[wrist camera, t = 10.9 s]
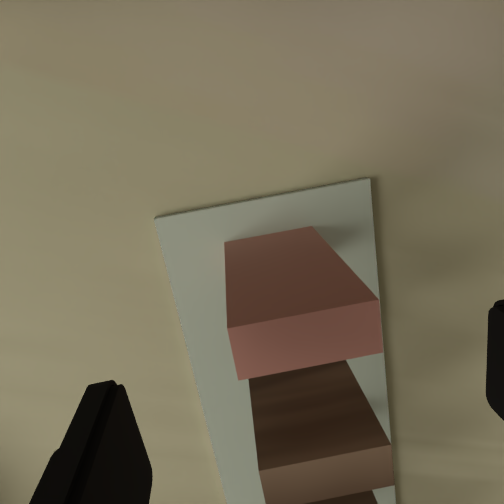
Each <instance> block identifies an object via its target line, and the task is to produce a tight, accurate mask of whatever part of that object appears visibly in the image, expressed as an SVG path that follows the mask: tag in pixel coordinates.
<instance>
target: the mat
mask: <svg viewBox="0 0 504 504" xmlns="http://www.w3.org/2000/svg"><path fill="white" fill-rule="evenodd" d="M154 222H155V226H156V229H157V233H158V237H159V241H160V245H161V249H162V253H163V257H164V261H165V264H166V268H167V272H168V276H169V280H170V284H171V288H172V292H173V296H174V299H175V303H176V307H177V311H178V315H179V319H180V323H181V327H182V331H183V334H184V338H185V342H186V346H187V350H188V354H189V358H190V362H191V366H192V370H193V373H194V377H195V381H196V385H197V389H198V393H199V397H200V401H201V405H202V408H203V412H204V416H205V420H206V424H207V428H208V432H209V436H210V440H211V443H212V447H213V451H214V455H215V459H216V463H217V467H218V471H219V475H220V478H221V482H222V486H223V490H224V494H225V498H226V502H227V504H266V503H265V498H264V494H263V489H262V485H261V480H260V475H259V470H258V461H257V452H256V443H255V434H254V425H253V416H252V407H251V398H250V389H249V380H248V379H245V380H239V381H238V377H237V373H236V368H235V363H234V359H233V354H232V349H231V345H230V340H229V335H228V331H227V312H226V283H225V253H224V242H229V241H234V240H239V239H245V238H250V237H255V236H261V235H266V234H271V233H277V232H282V231H287V230H293V229H298V228H303V227H309V226H312V227H313V228H314V229H315V230H316V231H317V232H318V233H319V234H320V236H321V237H322V238H323V239H324V240H325V241H326V242H327V243H328V244H329V245H330V246H331V248H332V249H333V250H334V251H335V252H336V253H337V254H338V255H339V256H340V257H341V258H342V260H343V261H344V262H345V263H346V264H347V265H348V266H349V267H350V268H351V269H352V270H353V272H354V273H355V274H356V275H357V276H358V277H359V278H360V279H361V280H362V281H363V282H364V284H365V285H366V286H367V287H368V288H369V289H370V290H371V291H372V292H373V293H374V294H375V296H376V297H377V298H378V299H379V304H380V298H379V285H378V273H377V260H376V248H375V235H374V223H373V210H372V198H371V185H370V179H369V178H362V179H357V180H351V181H346V182H340V183H335V184H330V185H324V186H319V187H314V188H308V189H303V190H298V191H292V192H287V193H282V194H276V195H271V196H265V197H260V198H255V199H249V200H244V201H239V202H233V203H228V204H223V205H217V206H212V207H207V208H201V209H196V210H190V211H185V212H180V213H174V214H169V215H164V216H158V217H155V218H154ZM380 317H381V310H380ZM381 330H382V323H381ZM382 342H383V335H382ZM346 361H347V363H348V365H349V367H350V369H351V370H352V372H353V374H354V376H355V378H356V380H357V382H358V383H359V385H360V387H361V389H362V391H363V393H364V395H365V396H366V398H367V400H368V402H369V404H370V406H371V408H372V409H373V411H374V413H375V415H376V417H377V419H378V421H379V422H380V424H381V426H382V428H383V430H384V432H385V434H386V435H387V437H388V439H389V441H390V443H391V435H390V422H389V410H388V397H387V385H386V372H385V360H384V347H383V353H378V354H373V355H368V356H363V357H358V358H353V359H347V360H346ZM372 491H373V493H374V496H375V498H376V501H377V503H378V504H396V497H395V485H394V486H389V487H384V488H379V489H374V490H372Z"/></svg>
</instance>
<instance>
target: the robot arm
mask: <svg viewBox="0 0 504 504" xmlns="http://www.w3.org/2000/svg"><path fill="white" fill-rule="evenodd" d="M486 397H487V400H488V403H489V405H490V406H491V408H492V409H493V410H494V411H495V412H496V413H497V414H498V415H499V416H500V417H501V418H502V419H503V420H504V300H499V301H497V302H495V304H494V306H493V308H491V309H490V310H489V314H488V341H487V372H486ZM151 487H152V468H151V464H150V461H149V458H148V455H147V452H146V449H145V446H144V443H143V440H142V437H141V434H140V431H139V428H138V426H137V423H136V420H135V417H134V414H133V411H132V408H131V405H130V402H129V399H128V396H127V393H126V390H125V387H124V386H123V385H122V384H120V385H117V384H116V382H115V381H114V380H110V381H105V382H100V383H95V384H90V385H88V387H87V388H86V391H85V393H84V395H83V397H82V399H81V402H80V404H79V406H78V408H77V410H76V413H75V415H74V417H73V419H72V421H71V424H70V426H69V428H68V430H67V432H66V435H65V437H64V439H63V441H62V443H61V446H60V448H59V449H57V450H56V451H55V452H54V453H53V455H52V456H51V458H50V460H49V462H48V464H47V467H46V469H45V471H44V473H43V475H42V477H41V479H40V481H39V484H38V486H37V488H36V490H35V492H34V494H33V496H32V499H31V501H30V503H29V504H149V499H150V493H151Z"/></svg>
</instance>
